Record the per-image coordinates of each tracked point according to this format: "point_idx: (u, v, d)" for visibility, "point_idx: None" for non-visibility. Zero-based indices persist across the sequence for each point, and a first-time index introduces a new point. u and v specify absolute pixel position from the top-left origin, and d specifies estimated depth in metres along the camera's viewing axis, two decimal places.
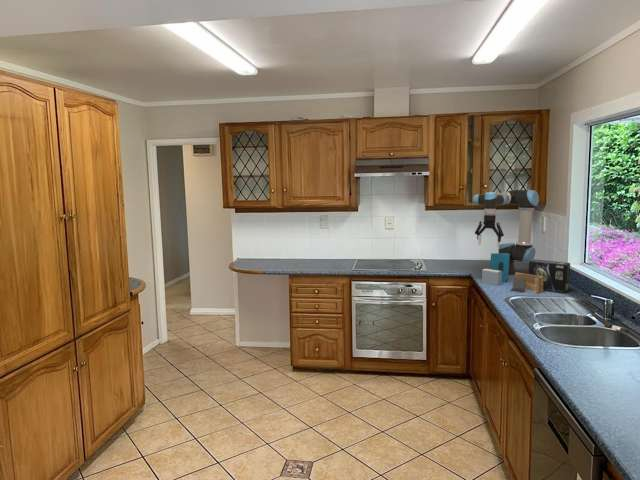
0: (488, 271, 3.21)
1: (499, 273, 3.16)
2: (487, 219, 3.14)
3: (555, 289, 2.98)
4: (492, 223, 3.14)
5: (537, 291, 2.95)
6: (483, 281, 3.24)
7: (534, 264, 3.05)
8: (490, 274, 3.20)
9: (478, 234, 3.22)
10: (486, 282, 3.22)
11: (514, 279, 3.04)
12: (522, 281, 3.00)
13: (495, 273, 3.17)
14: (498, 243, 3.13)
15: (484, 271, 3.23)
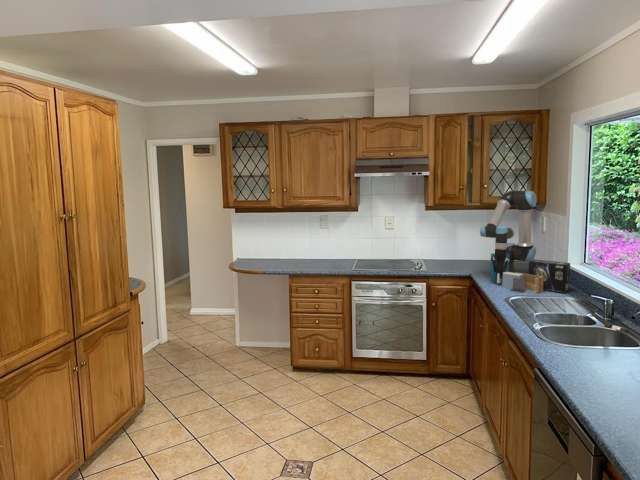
0: (509, 274, 3.09)
1: (521, 276, 3.04)
2: (498, 253, 3.12)
3: (555, 289, 2.98)
4: (503, 257, 3.12)
5: (537, 291, 2.95)
6: (503, 284, 3.12)
7: (534, 264, 3.05)
8: (511, 277, 3.08)
9: (497, 271, 3.17)
10: (507, 286, 3.11)
11: (514, 279, 3.04)
12: (522, 281, 3.00)
13: (517, 276, 3.05)
14: (500, 279, 3.17)
15: (505, 274, 3.11)
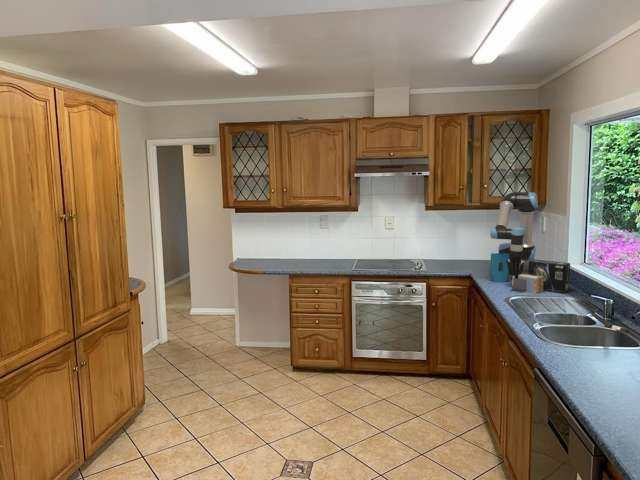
0: (525, 277, 3.01)
1: None
2: (513, 255, 3.04)
3: (555, 289, 2.98)
4: (519, 259, 3.04)
5: (537, 291, 2.95)
6: None
7: (534, 264, 3.05)
8: (527, 280, 3.00)
9: (512, 274, 3.08)
10: None
11: (514, 279, 3.04)
12: (522, 281, 3.00)
13: (533, 279, 2.97)
14: None
15: (520, 277, 3.03)
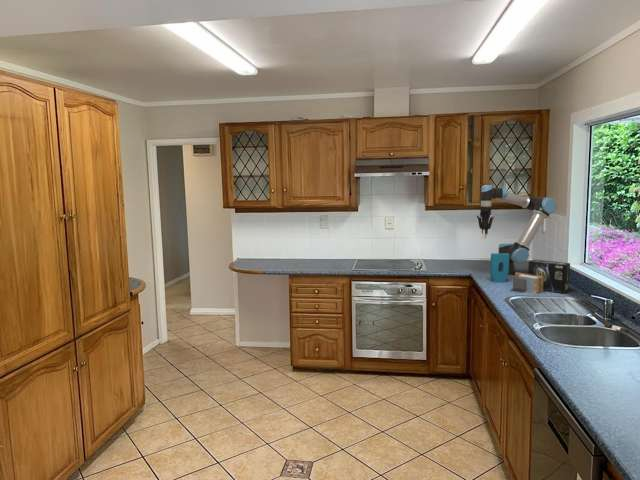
0: (525, 277, 3.01)
1: None
2: (483, 210, 3.36)
3: (554, 289, 2.98)
4: (488, 214, 3.36)
5: (537, 291, 2.95)
6: None
7: (534, 264, 3.05)
8: (527, 280, 3.00)
9: (483, 228, 3.40)
10: None
11: (514, 279, 3.04)
12: (522, 281, 3.00)
13: (533, 279, 2.97)
14: (485, 235, 3.40)
15: (520, 277, 3.03)
